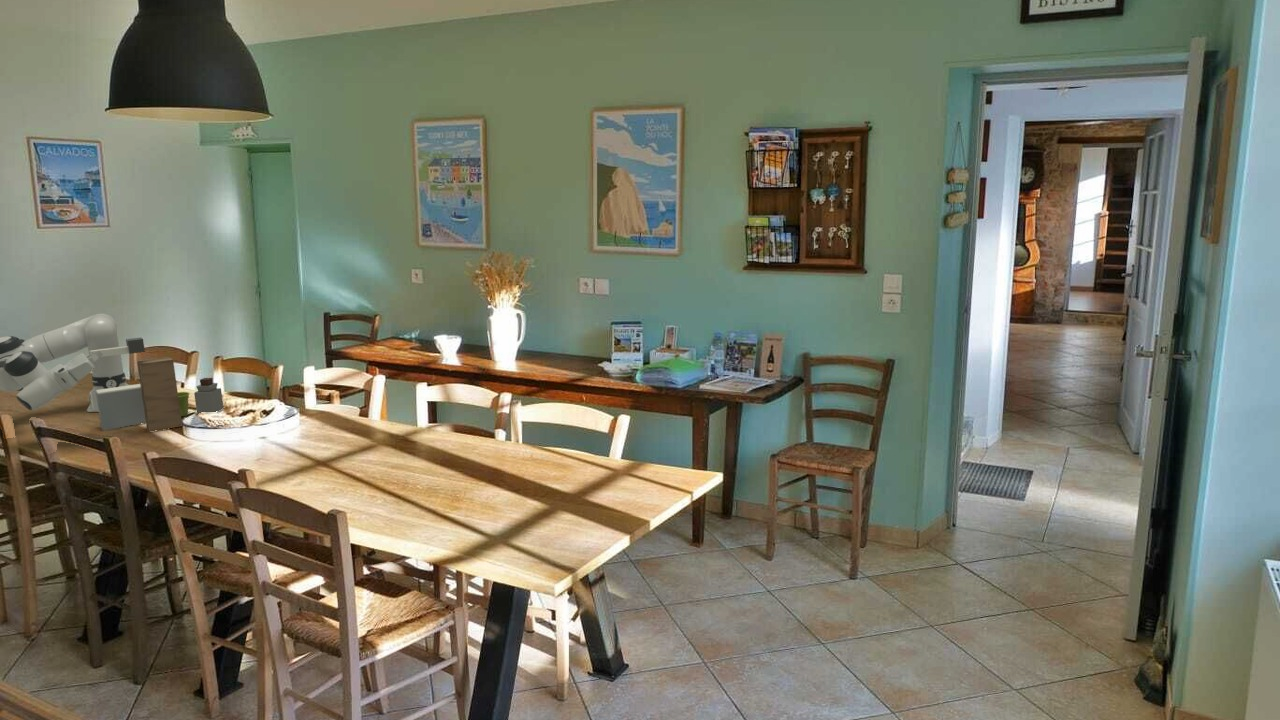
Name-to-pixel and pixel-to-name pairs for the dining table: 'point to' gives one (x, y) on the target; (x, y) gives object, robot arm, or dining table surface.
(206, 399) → the perfume bottle
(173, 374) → the walnut stand
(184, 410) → the plant pot
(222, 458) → the dining table surface
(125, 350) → the mallet
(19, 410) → the dining table surface
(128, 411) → the notepad block
